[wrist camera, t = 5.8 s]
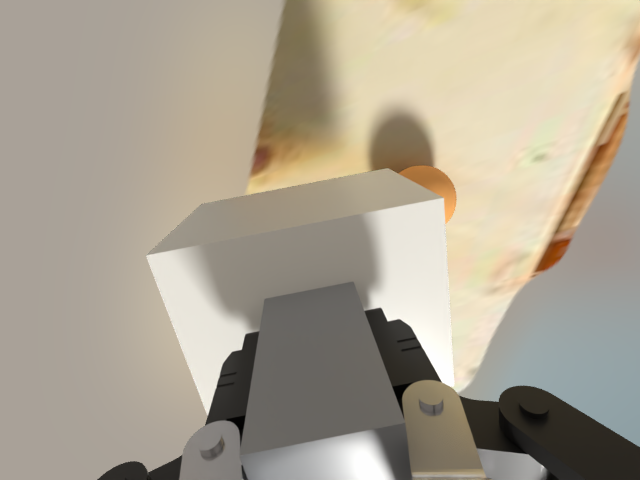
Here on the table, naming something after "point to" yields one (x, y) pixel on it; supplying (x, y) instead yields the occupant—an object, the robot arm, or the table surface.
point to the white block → (312, 315)
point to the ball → (434, 185)
